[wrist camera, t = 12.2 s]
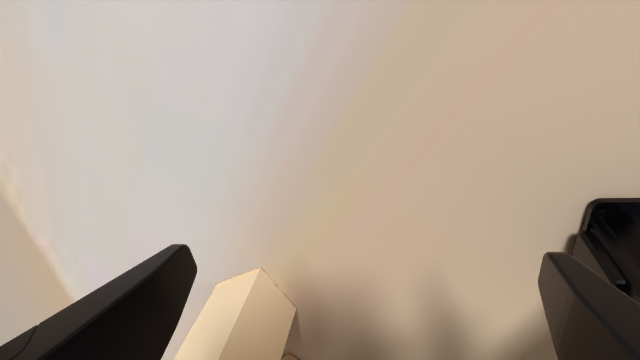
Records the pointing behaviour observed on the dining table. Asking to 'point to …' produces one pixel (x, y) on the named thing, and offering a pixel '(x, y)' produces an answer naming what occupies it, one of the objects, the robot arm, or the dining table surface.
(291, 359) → the base
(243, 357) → the cream tall block
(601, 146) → the dining table surface
